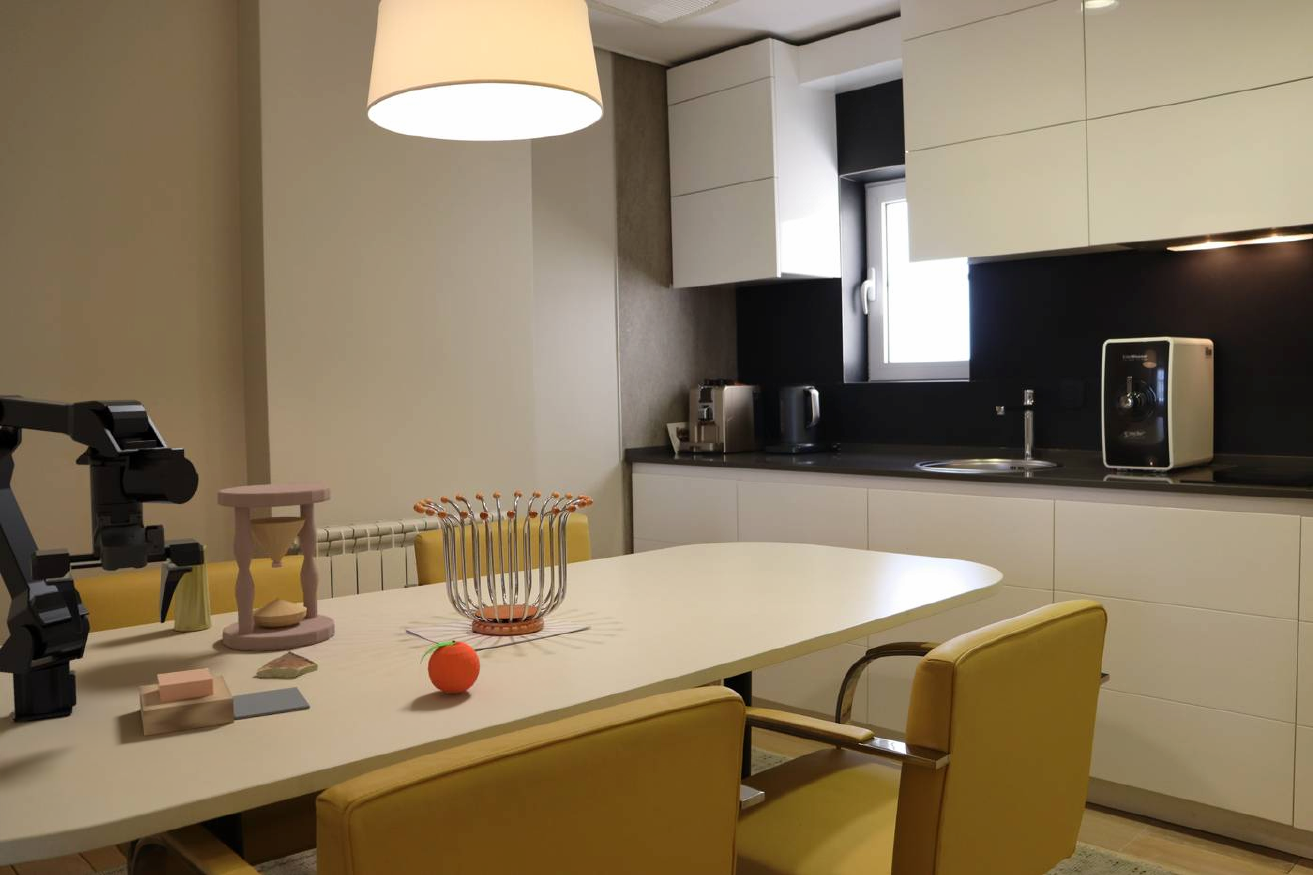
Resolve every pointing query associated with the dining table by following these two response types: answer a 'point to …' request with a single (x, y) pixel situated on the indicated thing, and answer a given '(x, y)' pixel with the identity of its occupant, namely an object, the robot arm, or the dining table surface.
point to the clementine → (453, 667)
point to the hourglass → (275, 535)
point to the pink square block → (184, 684)
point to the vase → (193, 600)
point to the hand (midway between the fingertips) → (121, 627)
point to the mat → (268, 703)
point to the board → (185, 709)
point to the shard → (287, 666)
